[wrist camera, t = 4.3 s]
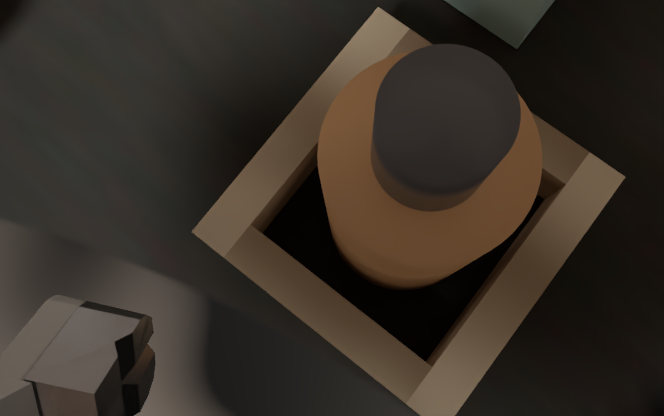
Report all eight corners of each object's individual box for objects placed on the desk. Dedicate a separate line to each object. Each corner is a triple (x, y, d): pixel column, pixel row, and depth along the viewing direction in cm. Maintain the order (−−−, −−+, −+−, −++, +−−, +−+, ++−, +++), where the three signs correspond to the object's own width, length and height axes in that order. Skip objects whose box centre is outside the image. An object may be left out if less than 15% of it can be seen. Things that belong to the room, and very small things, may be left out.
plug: (417, 321, 19) (480, 308, 9) (300, 230, 19) (252, 136, 10) (504, 204, 19) (643, 86, 10) (388, 121, 20) (418, -63, 11)
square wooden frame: (432, 422, 18) (442, 432, 16) (207, 242, 19) (191, 231, 17) (597, 193, 19) (625, 176, 17) (375, 37, 21) (378, 7, 19)
